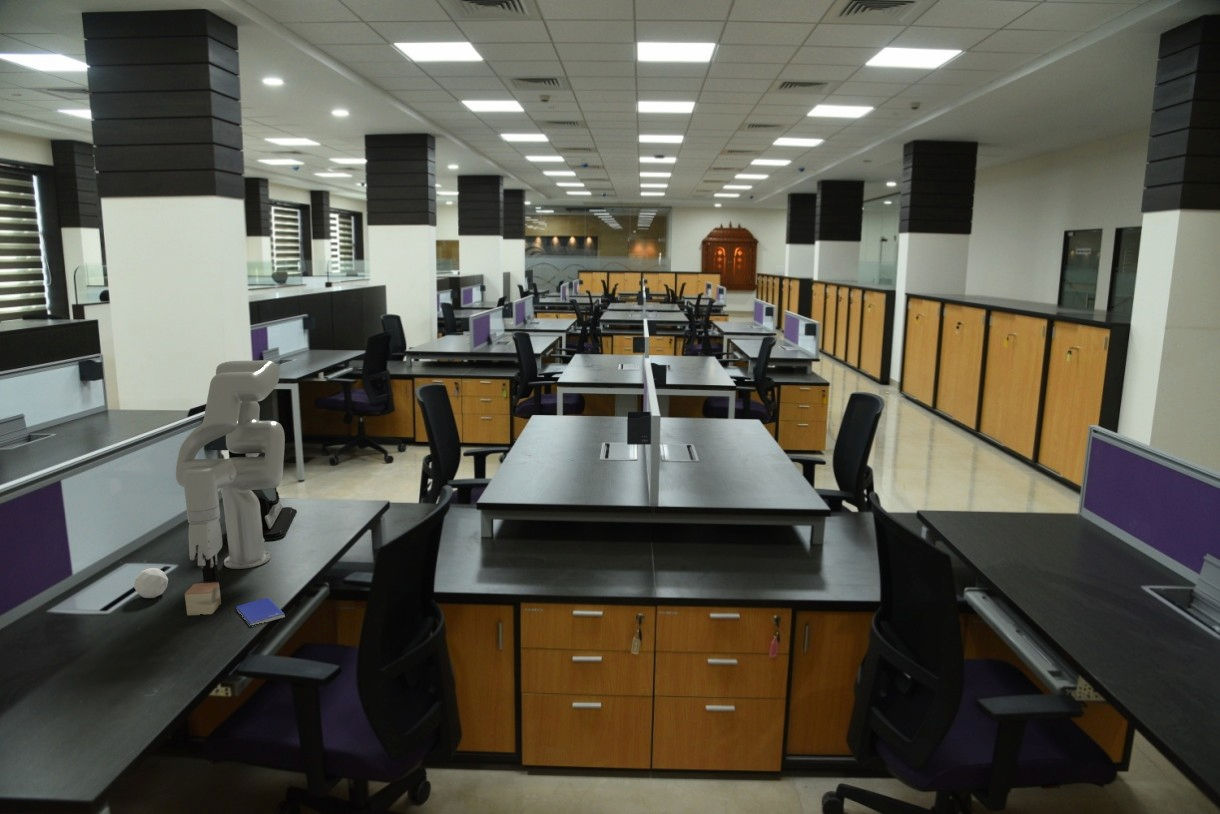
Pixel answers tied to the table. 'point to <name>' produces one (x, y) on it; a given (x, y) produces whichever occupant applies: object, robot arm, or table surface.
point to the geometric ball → (151, 583)
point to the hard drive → (260, 611)
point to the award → (270, 510)
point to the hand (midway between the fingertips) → (211, 580)
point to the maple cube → (202, 598)
